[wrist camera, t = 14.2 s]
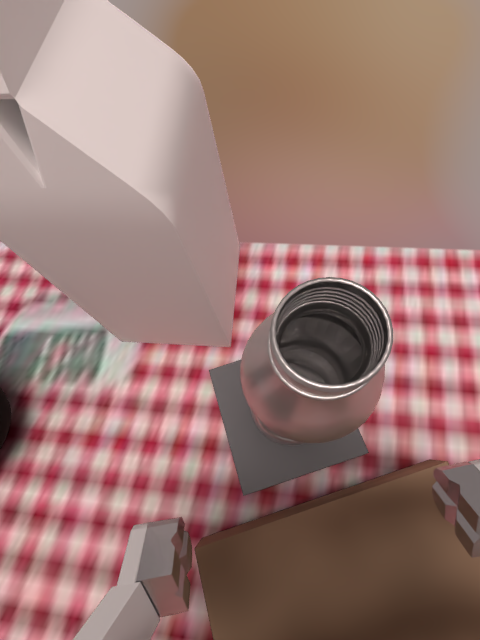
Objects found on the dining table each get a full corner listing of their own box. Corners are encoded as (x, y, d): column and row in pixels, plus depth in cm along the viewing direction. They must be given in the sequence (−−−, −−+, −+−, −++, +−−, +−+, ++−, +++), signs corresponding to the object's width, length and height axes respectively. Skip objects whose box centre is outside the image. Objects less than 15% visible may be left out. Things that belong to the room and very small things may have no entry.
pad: (365, 452, 27) (368, 452, 26) (244, 494, 26) (243, 495, 26) (316, 337, 31) (317, 334, 30) (210, 371, 30) (208, 370, 30)
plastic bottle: (237, 404, 28) (178, 328, 10) (290, 355, 29) (328, 206, 11) (287, 462, 26) (332, 509, 8) (342, 407, 27) (497, 331, 9)
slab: (537, 714, 20) (627, 806, 15) (274, 813, 20) (276, 944, 14) (412, 457, 26) (447, 461, 21) (209, 527, 26) (194, 548, 21)
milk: (230, 347, 31) (99, 25, 7) (121, 341, 32) (-302, 51, 8) (240, 246, 36) (178, -167, 11) (143, 245, 37) (-95, -130, 13)
